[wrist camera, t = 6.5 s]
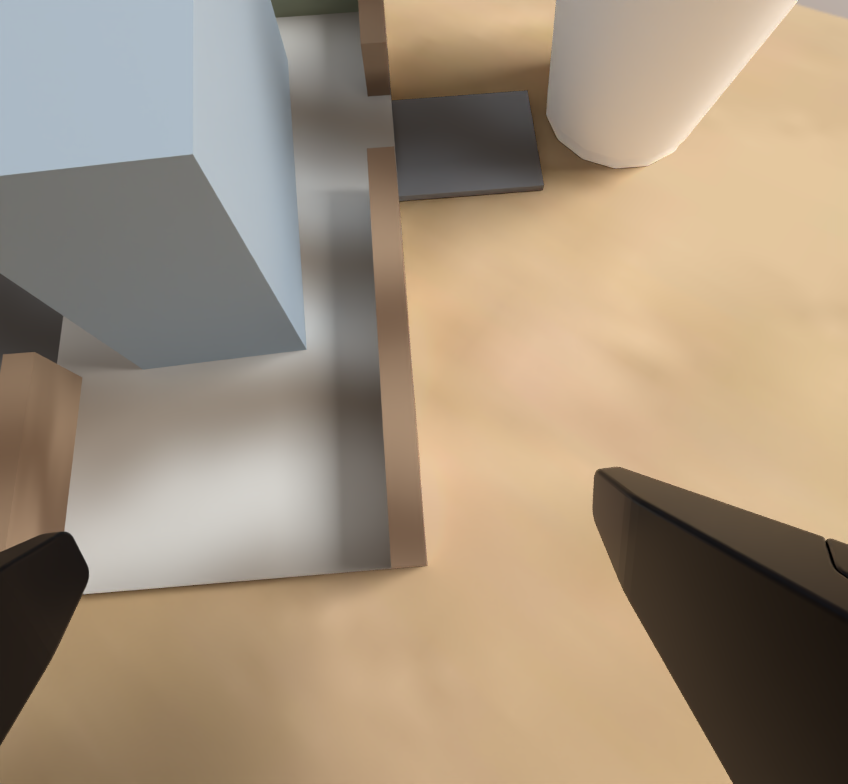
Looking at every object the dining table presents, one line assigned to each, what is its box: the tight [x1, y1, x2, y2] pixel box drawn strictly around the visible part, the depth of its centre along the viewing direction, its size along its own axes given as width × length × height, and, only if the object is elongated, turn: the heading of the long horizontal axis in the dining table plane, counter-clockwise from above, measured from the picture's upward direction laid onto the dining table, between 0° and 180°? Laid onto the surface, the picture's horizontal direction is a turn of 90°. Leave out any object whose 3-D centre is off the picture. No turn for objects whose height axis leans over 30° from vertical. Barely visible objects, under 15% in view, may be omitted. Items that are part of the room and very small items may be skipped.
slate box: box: [0, 0, 307, 370], centre depth 17 cm, size 14×6×10 cm, turn 7°
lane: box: [0, 0, 544, 594], centre depth 20 cm, size 26×25×5 cm
